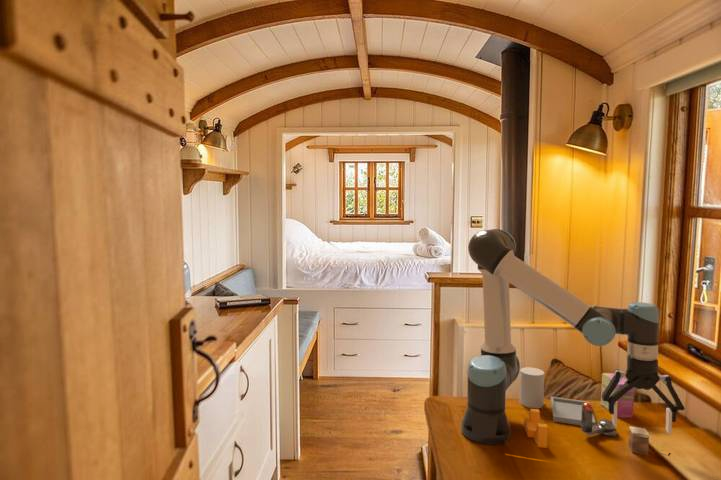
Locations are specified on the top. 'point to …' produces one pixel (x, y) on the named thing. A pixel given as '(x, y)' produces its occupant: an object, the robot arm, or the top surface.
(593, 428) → the crank
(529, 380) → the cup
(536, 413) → the orange stepped block
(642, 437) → the stop block
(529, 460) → the top surface
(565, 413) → the tray
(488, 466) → the top surface
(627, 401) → the box
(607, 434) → the crank base
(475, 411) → the robot arm
